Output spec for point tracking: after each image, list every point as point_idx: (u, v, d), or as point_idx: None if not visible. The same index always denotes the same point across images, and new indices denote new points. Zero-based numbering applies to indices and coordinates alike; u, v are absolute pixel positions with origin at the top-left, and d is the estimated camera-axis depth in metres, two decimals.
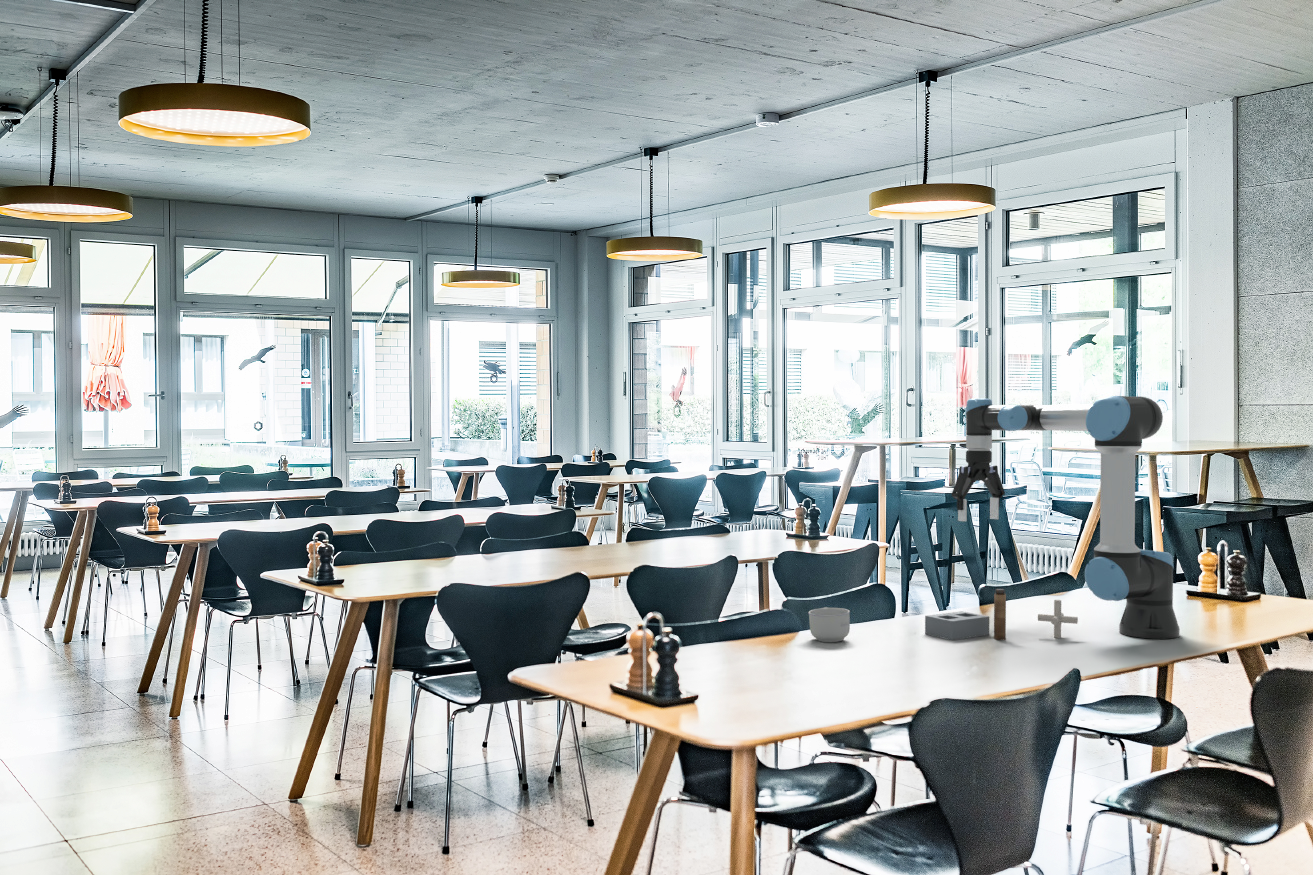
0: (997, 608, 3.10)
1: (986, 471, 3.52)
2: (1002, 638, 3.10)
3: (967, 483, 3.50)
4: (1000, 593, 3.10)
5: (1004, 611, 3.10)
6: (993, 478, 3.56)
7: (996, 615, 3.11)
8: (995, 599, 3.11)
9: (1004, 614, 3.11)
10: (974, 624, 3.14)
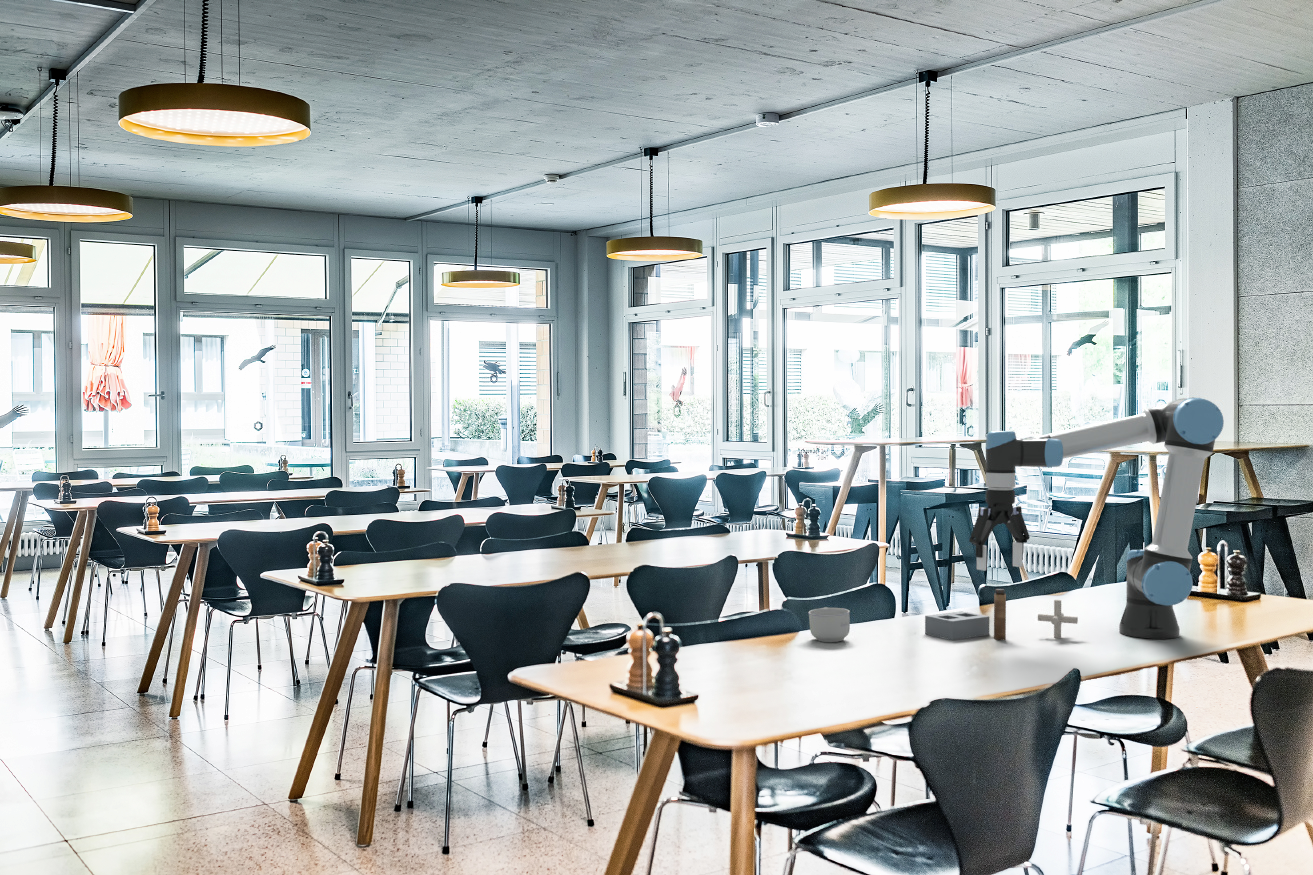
0: (997, 608, 3.10)
1: (1008, 513, 3.10)
2: (1002, 638, 3.10)
3: (987, 527, 3.09)
4: (1000, 593, 3.10)
5: (1004, 611, 3.10)
6: (1016, 520, 3.15)
7: (996, 615, 3.11)
8: (995, 599, 3.11)
9: (1004, 614, 3.11)
10: (974, 624, 3.14)
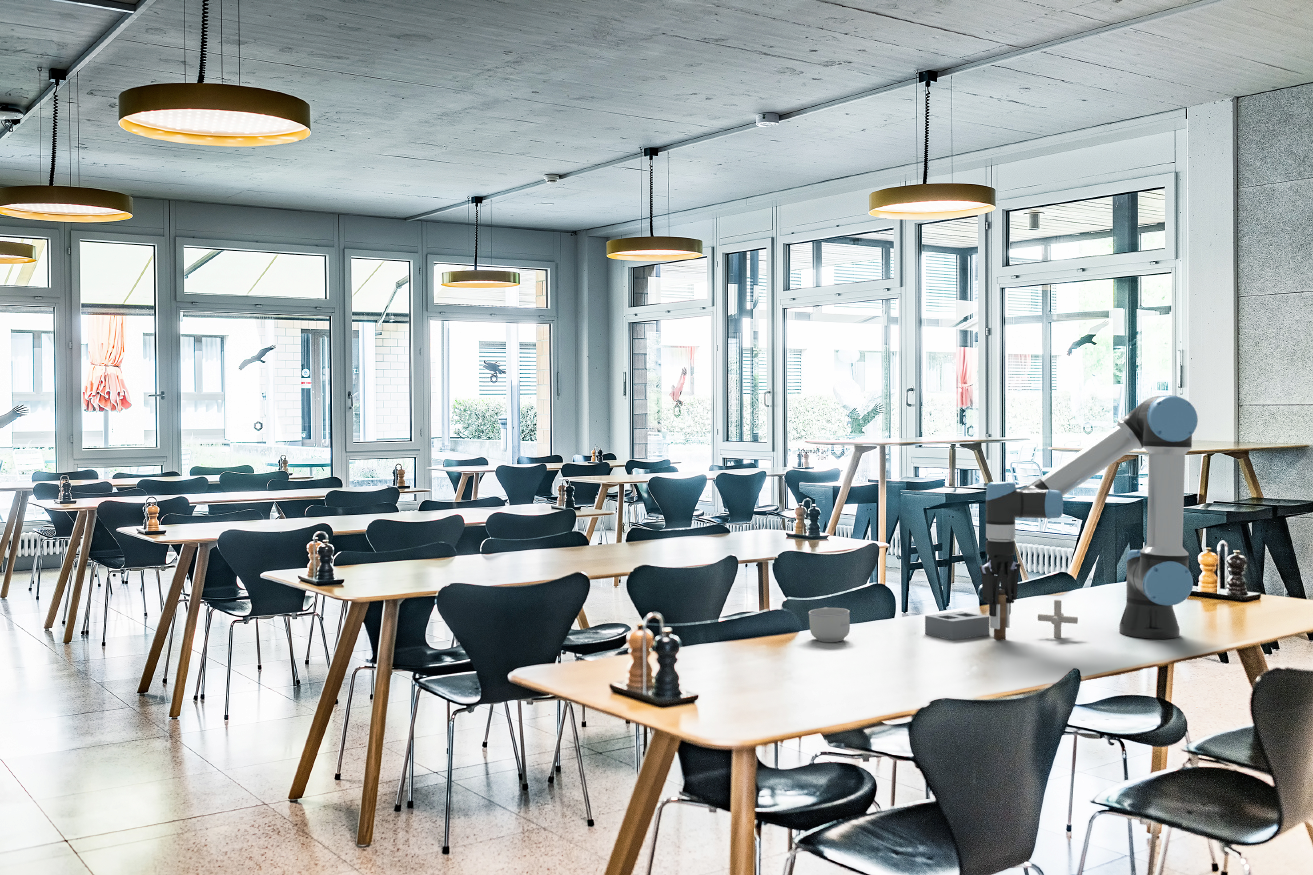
0: None
1: (1009, 564, 3.10)
2: (1002, 638, 3.10)
3: (994, 583, 3.10)
4: (1000, 593, 3.10)
5: (1004, 611, 3.10)
6: (1011, 576, 3.14)
7: None
8: None
9: (1004, 614, 3.11)
10: (974, 624, 3.14)
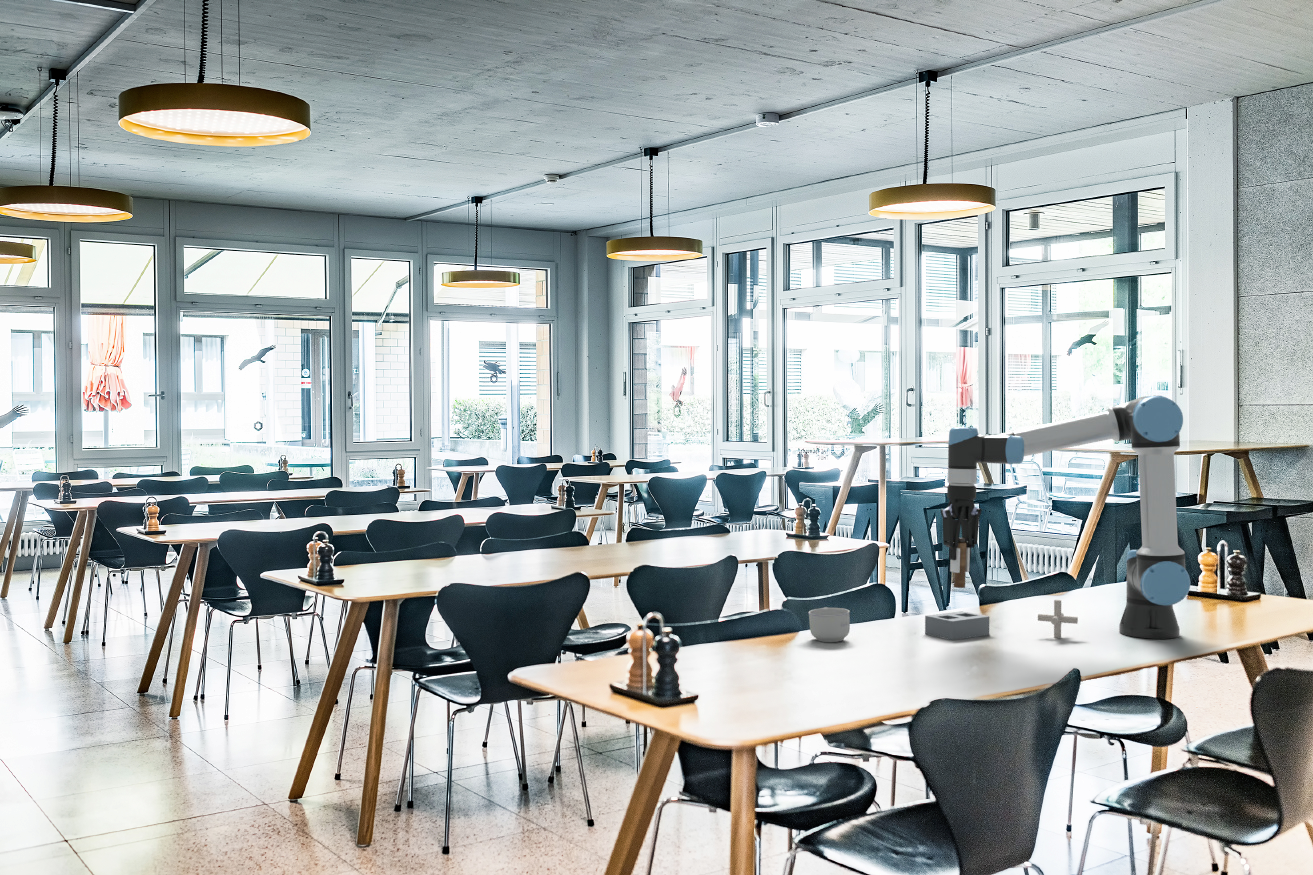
0: None
1: (969, 509, 3.13)
2: (961, 586, 3.13)
3: (954, 527, 3.13)
4: (960, 541, 3.13)
5: (964, 559, 3.14)
6: (972, 522, 3.17)
7: None
8: None
9: (964, 562, 3.14)
10: (974, 624, 3.14)
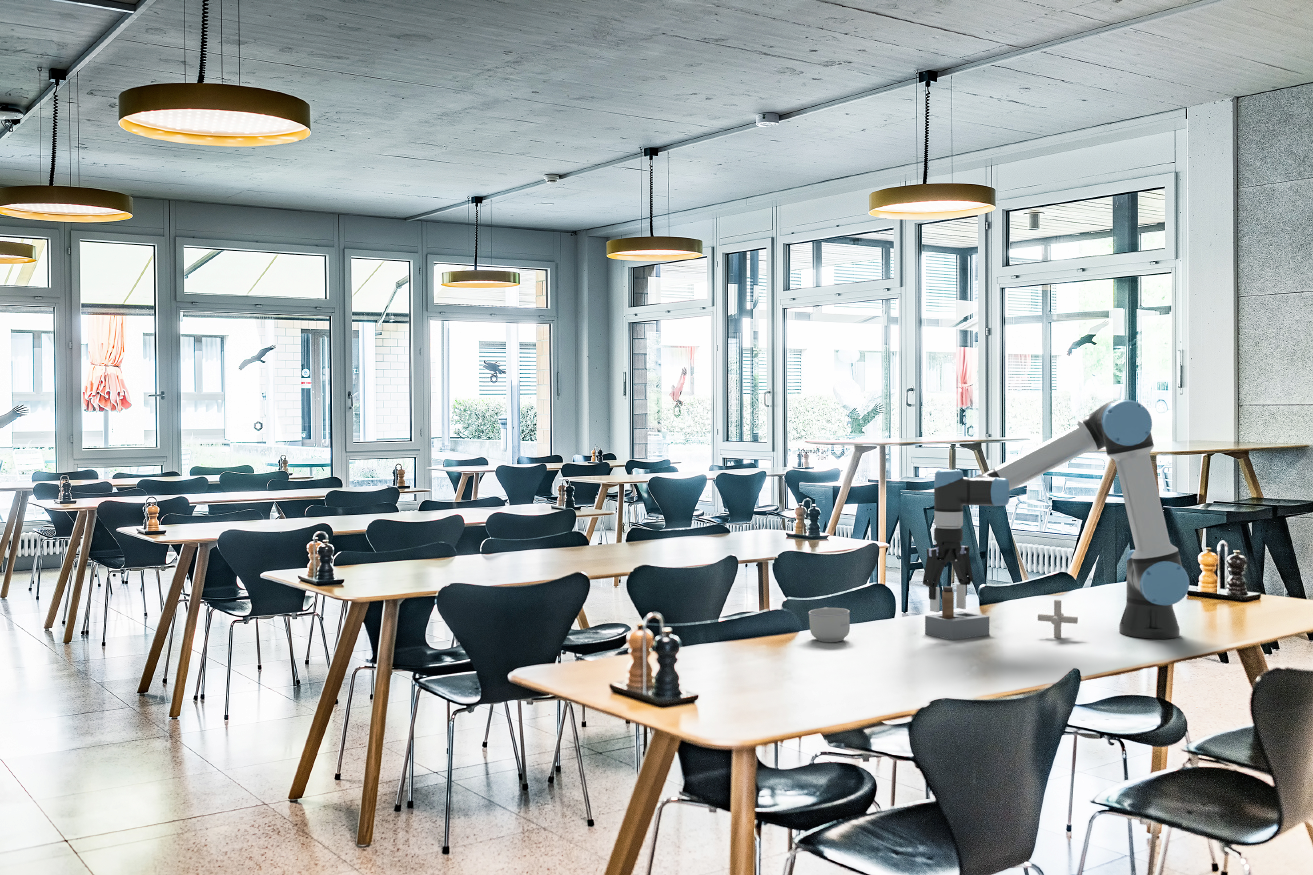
0: (945, 606, 3.15)
1: (956, 551, 3.15)
2: None
3: (937, 567, 3.13)
4: (948, 590, 3.15)
5: (952, 608, 3.15)
6: (963, 560, 3.19)
7: (944, 612, 3.15)
8: (943, 597, 3.16)
9: (952, 611, 3.15)
10: (974, 624, 3.14)
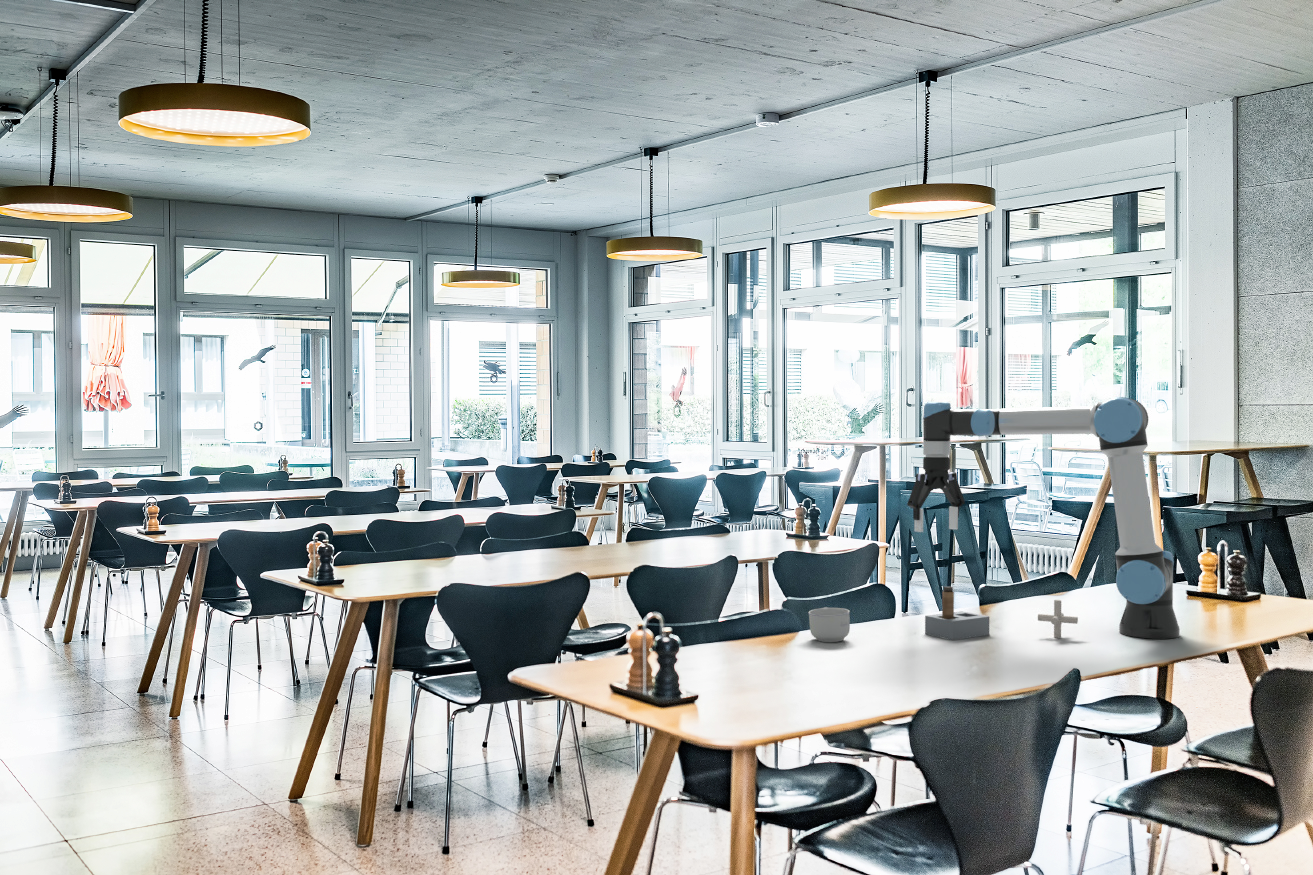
0: (945, 606, 3.15)
1: (944, 479, 3.33)
2: None
3: (924, 491, 3.31)
4: (948, 590, 3.15)
5: (952, 608, 3.15)
6: (952, 486, 3.37)
7: (944, 612, 3.15)
8: (943, 596, 3.16)
9: (952, 611, 3.15)
10: (974, 624, 3.14)
